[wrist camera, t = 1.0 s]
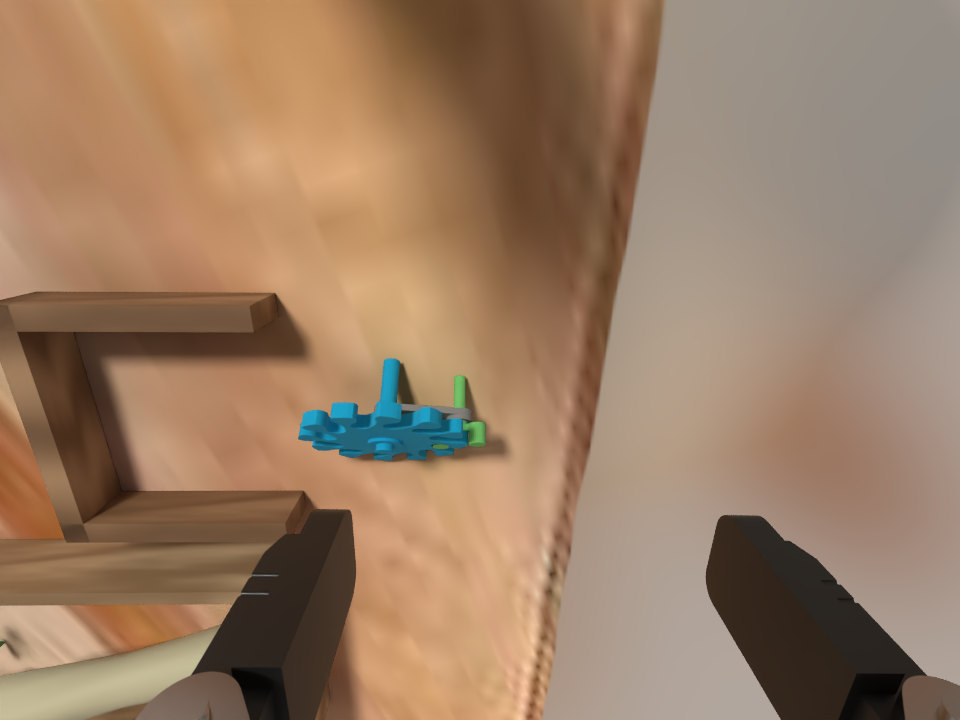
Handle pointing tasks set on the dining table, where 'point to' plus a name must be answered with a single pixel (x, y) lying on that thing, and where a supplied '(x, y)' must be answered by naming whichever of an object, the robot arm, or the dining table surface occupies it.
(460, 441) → the gear
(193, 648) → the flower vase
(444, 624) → the dining table surface
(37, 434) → the cradle
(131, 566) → the wooden tray
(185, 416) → the dining table surface
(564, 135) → the dining table surface
